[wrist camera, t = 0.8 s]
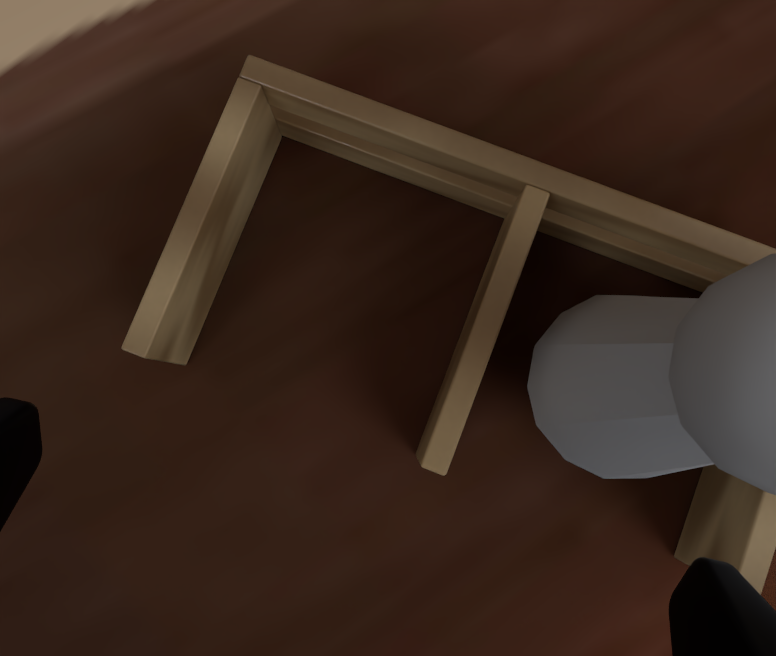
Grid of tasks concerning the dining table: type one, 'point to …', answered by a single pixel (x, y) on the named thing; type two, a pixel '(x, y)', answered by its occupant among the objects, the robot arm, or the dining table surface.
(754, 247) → the rack
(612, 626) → the dining table surface
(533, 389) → the salt shaker
